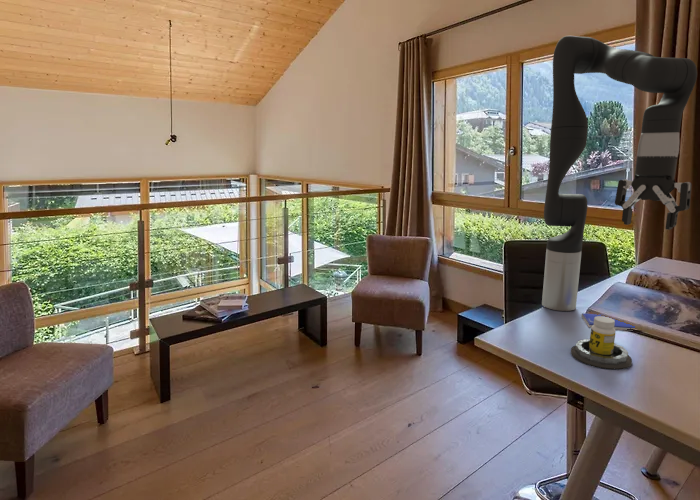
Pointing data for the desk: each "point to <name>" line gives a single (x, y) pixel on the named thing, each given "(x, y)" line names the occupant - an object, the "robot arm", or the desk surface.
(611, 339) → the supplement bottle
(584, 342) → the grey flat ring
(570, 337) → the desk surface
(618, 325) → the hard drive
